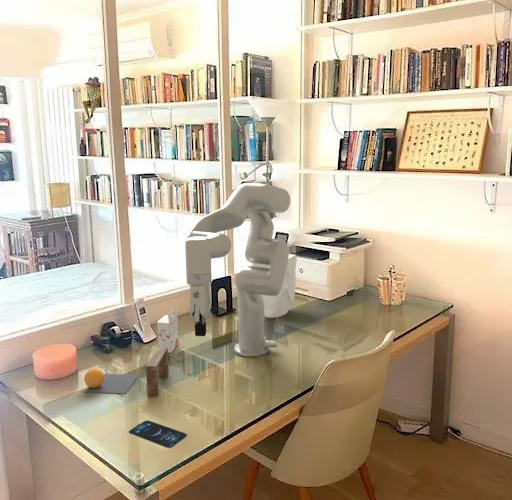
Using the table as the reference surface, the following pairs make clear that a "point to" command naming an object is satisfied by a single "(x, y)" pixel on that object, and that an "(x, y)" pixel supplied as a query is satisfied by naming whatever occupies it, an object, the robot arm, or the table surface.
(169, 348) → the ink cartridge box
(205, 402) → the table surface
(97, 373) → the ball
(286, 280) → the white curved block
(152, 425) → the smartphone
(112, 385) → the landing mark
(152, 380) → the bridge
